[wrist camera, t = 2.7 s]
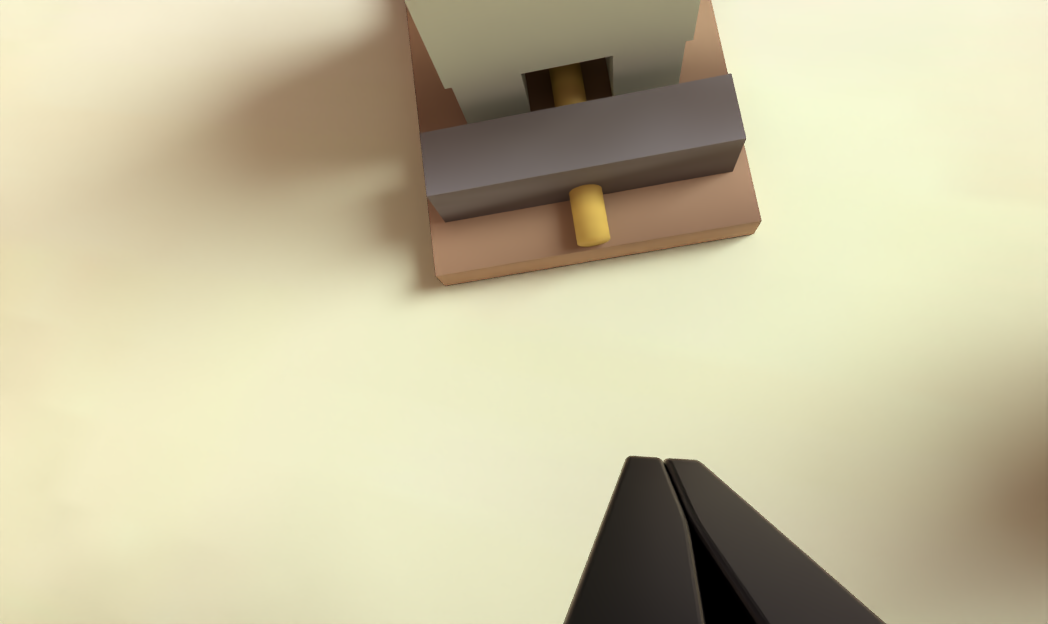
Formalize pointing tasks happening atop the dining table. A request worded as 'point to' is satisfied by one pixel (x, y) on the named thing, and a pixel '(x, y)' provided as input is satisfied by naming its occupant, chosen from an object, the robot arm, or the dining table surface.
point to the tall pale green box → (549, 45)
